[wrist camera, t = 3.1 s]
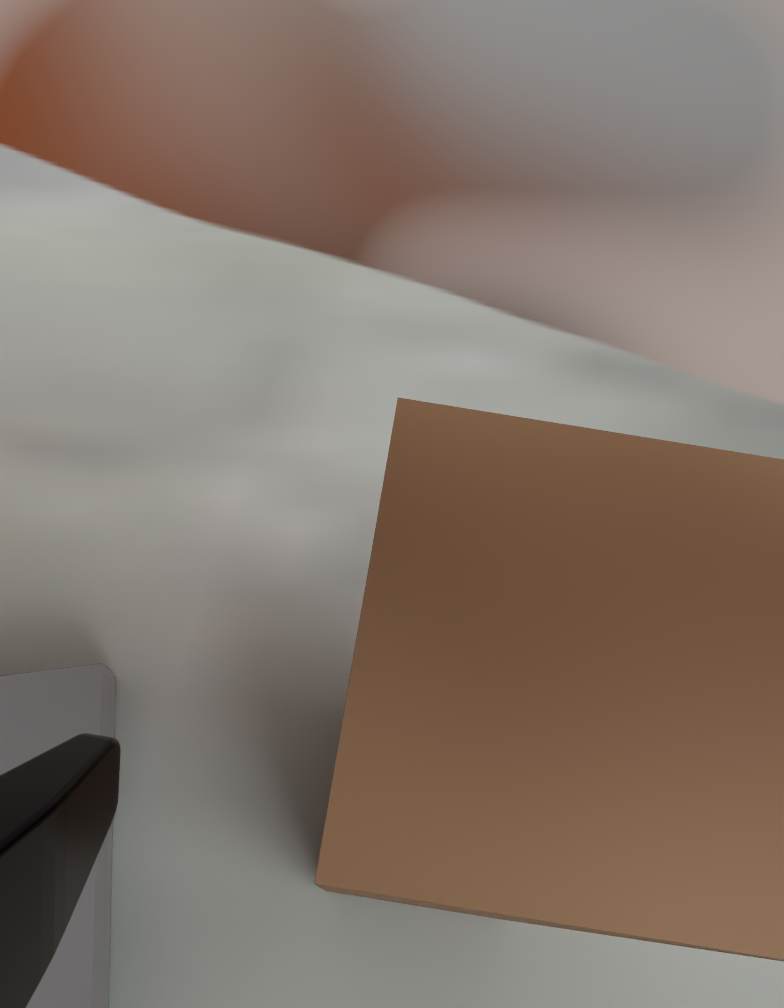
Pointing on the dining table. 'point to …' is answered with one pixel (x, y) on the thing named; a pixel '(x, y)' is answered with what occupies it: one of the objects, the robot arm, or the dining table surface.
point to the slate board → (86, 941)
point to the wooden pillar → (568, 685)
